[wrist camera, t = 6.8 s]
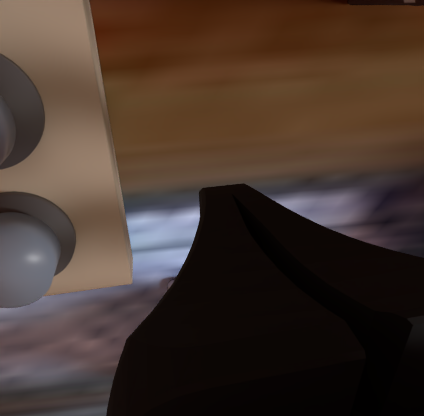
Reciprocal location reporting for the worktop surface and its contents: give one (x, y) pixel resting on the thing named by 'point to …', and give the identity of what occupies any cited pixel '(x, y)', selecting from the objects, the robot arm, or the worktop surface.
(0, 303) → the button
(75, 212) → the button board
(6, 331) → the worktop surface
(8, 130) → the button middle
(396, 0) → the box
